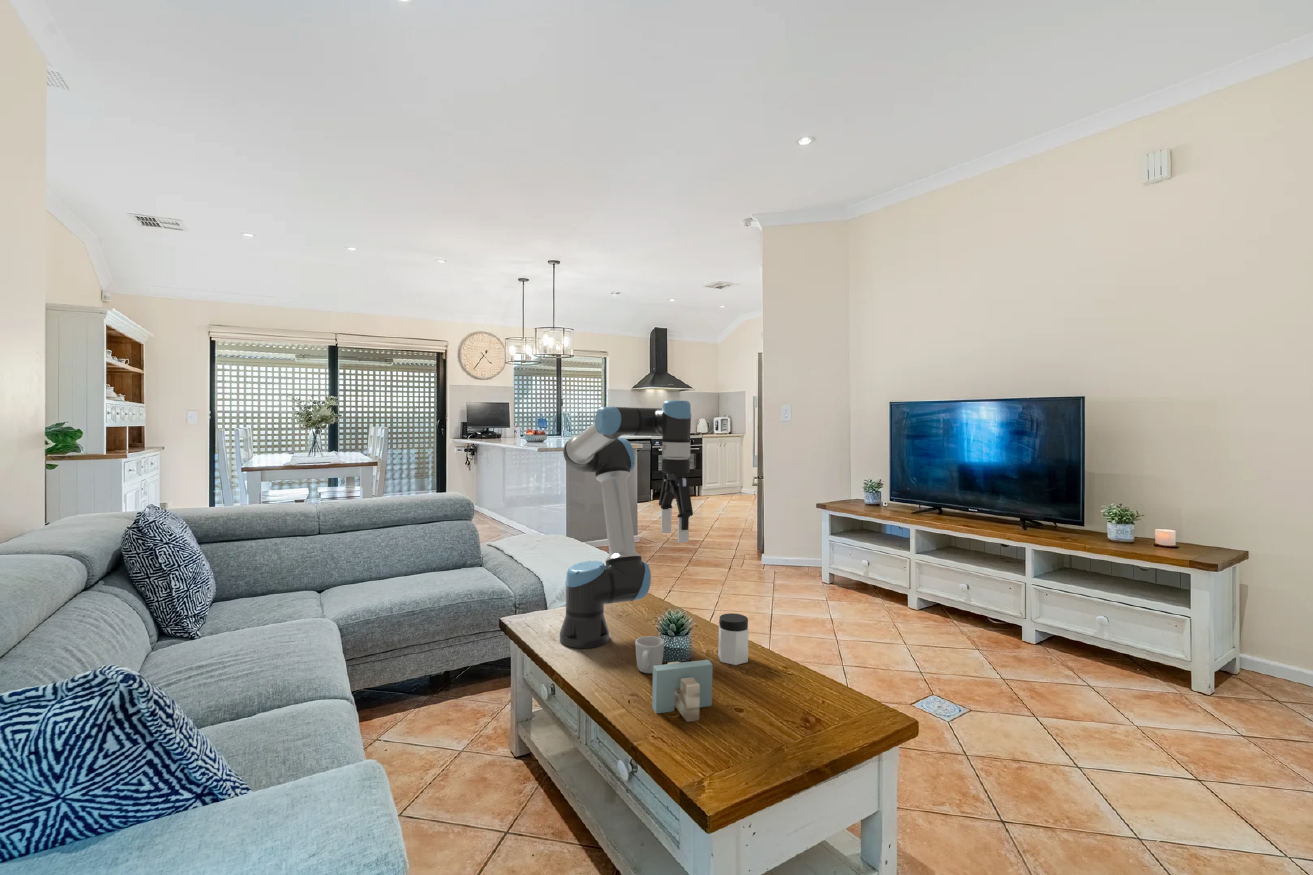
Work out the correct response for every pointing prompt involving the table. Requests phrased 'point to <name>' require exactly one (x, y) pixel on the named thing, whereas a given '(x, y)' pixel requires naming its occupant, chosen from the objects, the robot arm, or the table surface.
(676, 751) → the table surface
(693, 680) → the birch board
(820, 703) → the table surface
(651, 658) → the cup
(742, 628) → the jar
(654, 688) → the teal board
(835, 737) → the table surface
